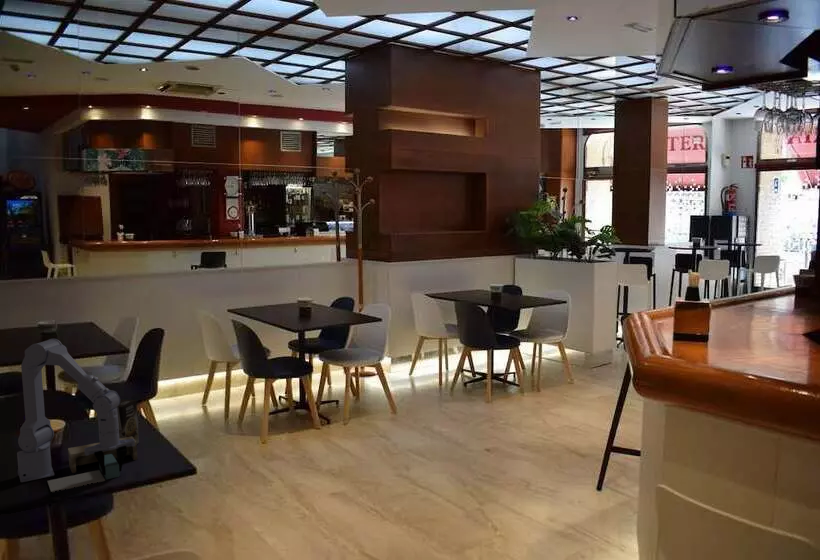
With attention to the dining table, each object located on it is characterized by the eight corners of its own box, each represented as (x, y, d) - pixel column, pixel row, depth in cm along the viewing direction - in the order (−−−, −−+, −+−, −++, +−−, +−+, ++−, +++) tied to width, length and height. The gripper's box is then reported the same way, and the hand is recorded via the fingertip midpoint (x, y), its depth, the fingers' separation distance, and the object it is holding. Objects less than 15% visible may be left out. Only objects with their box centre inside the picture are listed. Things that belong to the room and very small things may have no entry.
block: (106, 479, 215) (105, 467, 215) (99, 468, 225) (98, 456, 225) (119, 476, 217) (118, 464, 217) (112, 465, 227) (111, 453, 227)
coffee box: (124, 451, 240) (121, 406, 239) (108, 450, 242) (105, 406, 240) (140, 442, 249) (137, 399, 248) (124, 442, 251) (121, 398, 249)
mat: (51, 492, 206) (51, 491, 206) (47, 482, 214) (47, 480, 214) (104, 480, 214) (104, 479, 214) (99, 471, 223) (99, 469, 223)
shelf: (72, 473, 221) (70, 454, 221) (69, 466, 227) (67, 448, 227) (137, 459, 232) (136, 441, 232) (133, 453, 238) (131, 436, 237)
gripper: (85, 438, 209) (88, 481, 210) (135, 429, 217) (138, 470, 218) (82, 432, 215) (85, 474, 216) (131, 423, 223) (133, 464, 224)
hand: (111, 472), depth 218 cm, fingers closed on block, 4 cm apart
